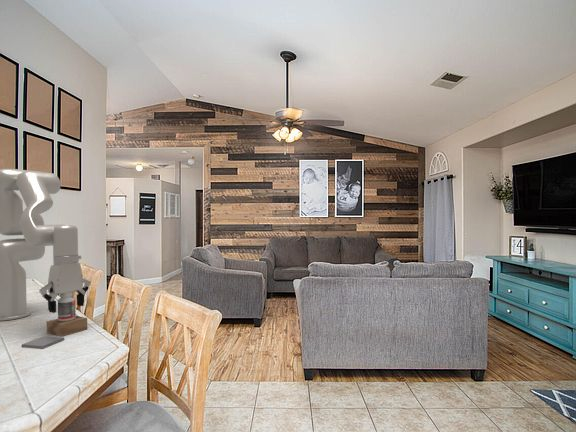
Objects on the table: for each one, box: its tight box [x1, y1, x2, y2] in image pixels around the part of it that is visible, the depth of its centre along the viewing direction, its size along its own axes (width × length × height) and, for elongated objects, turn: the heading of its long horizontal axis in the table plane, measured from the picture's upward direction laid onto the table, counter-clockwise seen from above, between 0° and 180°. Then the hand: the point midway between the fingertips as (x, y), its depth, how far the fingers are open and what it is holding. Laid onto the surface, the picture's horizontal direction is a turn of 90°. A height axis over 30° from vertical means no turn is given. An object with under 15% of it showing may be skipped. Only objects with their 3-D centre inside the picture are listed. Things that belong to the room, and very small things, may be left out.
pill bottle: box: [57, 292, 77, 321], centre depth 130 cm, size 5×5×10 cm
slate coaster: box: [21, 335, 65, 350], centre depth 117 cm, size 8×8×1 cm
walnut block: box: [46, 315, 88, 337], centre depth 130 cm, size 9×9×4 cm
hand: (66, 308), depth 130 cm, fingers open, 9 cm apart
